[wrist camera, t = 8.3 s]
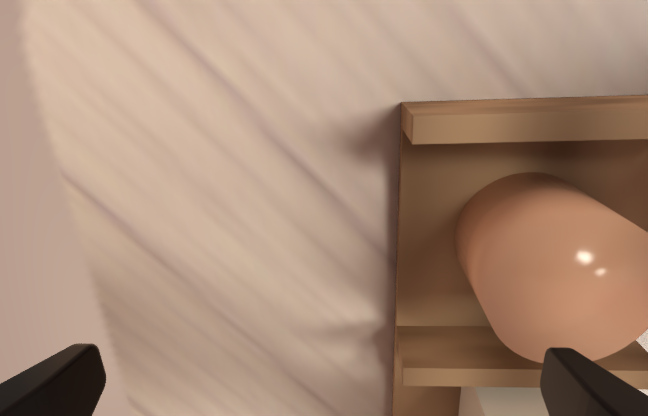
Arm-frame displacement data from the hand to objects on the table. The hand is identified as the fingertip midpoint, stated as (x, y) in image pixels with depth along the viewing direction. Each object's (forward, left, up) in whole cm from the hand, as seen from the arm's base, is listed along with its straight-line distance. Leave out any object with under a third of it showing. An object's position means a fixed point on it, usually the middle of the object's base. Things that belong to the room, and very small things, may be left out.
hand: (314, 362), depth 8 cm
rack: (-8, +8, -12) cm, 17 cm away
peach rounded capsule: (-8, +3, -11) cm, 14 cm away
